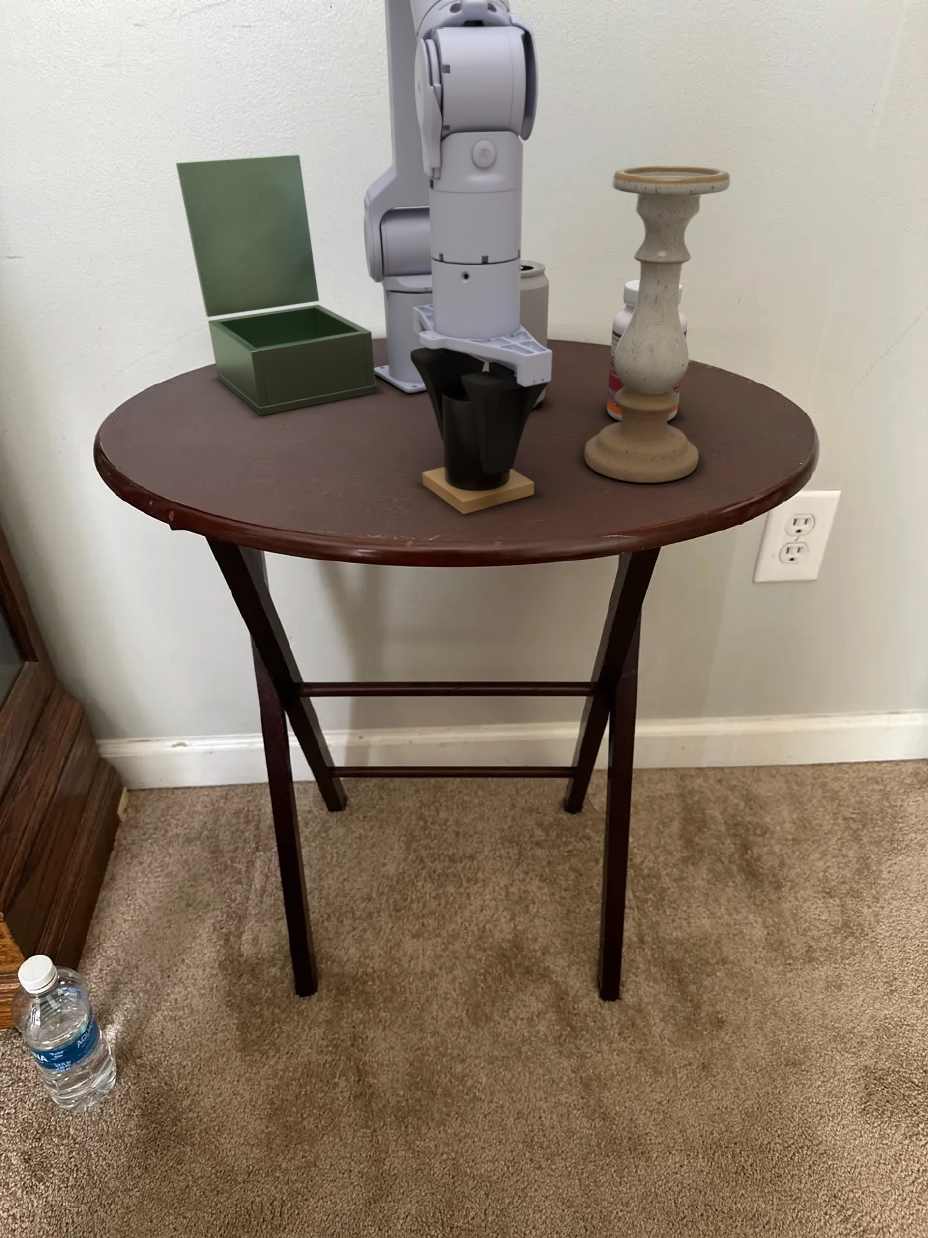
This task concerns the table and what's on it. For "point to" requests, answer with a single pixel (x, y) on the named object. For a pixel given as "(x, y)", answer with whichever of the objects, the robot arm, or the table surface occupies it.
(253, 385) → the green hinged box
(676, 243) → the candle holder
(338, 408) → the table surface
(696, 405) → the table surface
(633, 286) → the pill bottle
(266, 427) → the table surface
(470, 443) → the cylinder
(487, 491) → the plate
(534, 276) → the beverage can
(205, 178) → the green box lid
